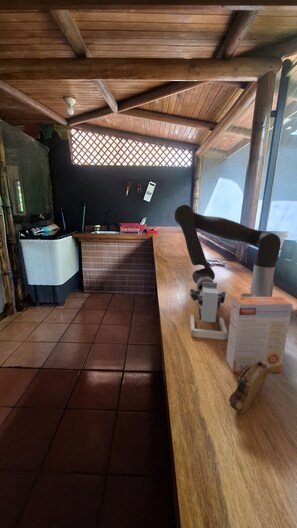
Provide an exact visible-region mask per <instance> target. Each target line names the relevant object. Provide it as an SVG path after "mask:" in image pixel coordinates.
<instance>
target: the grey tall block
mask: <svg viewBox="0 0 297 528" xmlns="http://www.w3.org/2000/svg"><path fill="white" fill-rule="evenodd" d="M218 292H219V291H218V283H217V282H214V283H212V282H203V287H202V298H203V304H202V306H201V305H200V308H198V315H199V316H198V318H199V321H200V322H208V323H216V322H218V316H217V312H218V307H217V304H218V296H219V293H220V292H219V293H218ZM219 297H220V296H219Z"/></svg>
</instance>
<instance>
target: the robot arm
mask: <svg viewBox="0 0 297 528" xmlns="http://www.w3.org/2000/svg"><path fill="white" fill-rule="evenodd" d="M174 221H175V222H176V224H177V225H179V226H180V228H181V230H182V232H183V236H184V239H185V243H186V250H187V253H188V255H189V259H190V261H191V264H192V265H193V266H203V268H200V269H197V270H195V271H193V272H192V275H191V276H192V280H193V282H194V284H196V290H195V289H192V288H191V289H190V290H189V296H190V297H191V299H192V301H197V303H198V304H199V305H200V307H201V306H202V304H203V298H202V287H203V282H212V283H215V282H214V280H215V278H216V277H215V276H216V274H215V271H214V270H213V268H212V267H211V266H210V264H209V262H208V260H207V258H206V255H205V252H204V250H203V247H202V244H201V241H200V238H199V235H198V232H197V230H199V231H203V232H205V233H208V234H210V235H213V236H216V237H218V238H222V239H225V240H228V241H233V242H234V241H235V242H242V243H245V244H249V245H251V246H253V247H255V248H257V254H256V257H255V259H254V263H253V271H252V279H251V284H250V292H249V294H253V295H255V296H256V297H273V291H274V285H275V282H274V275H275V269H276V264H277V262H278V261H279V255H280V250H281V243H282V242H281V238H280V236H278V235H277V234H275V233H272V232H270V231H263V230H258V229H254V228H251V227H248V226H246V225H244V224H241V223H239V222H237V221H234V220H231V219H228V218H224V217H220V216H212V215H211V216H210V215H202V214H199V213H197V212H195V211H194V210H193V208H192V207H191V206H190V205H189V204H186V203H185V204H184V203H183V204H180V205H179V206H177V207H176V209H175V211H174ZM218 293H219V296H218V304H217V308H219V307H220V306H221V304H224V303H225V299H226V295H227V292H225V291H222V292H219V291H218Z"/></svg>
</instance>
